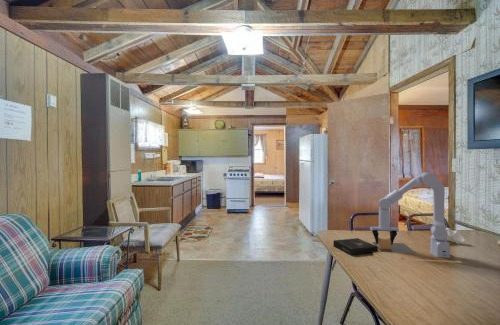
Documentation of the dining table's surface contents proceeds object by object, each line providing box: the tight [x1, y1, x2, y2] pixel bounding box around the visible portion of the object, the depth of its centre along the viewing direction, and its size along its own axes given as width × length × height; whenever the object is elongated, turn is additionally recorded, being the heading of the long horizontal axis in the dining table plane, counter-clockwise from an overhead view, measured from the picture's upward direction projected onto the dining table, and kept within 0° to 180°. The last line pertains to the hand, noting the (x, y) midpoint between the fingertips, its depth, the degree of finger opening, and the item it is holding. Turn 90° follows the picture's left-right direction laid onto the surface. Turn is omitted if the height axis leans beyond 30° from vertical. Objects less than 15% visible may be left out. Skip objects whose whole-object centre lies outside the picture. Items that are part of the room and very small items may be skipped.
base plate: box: [371, 241, 417, 254], centre depth 162 cm, size 18×18×4 cm
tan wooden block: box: [377, 236, 391, 249], centre depth 162 cm, size 6×6×5 cm
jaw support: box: [446, 227, 466, 245], centre depth 176 cm, size 12×9×10 cm
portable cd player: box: [333, 237, 379, 257], centre depth 162 cm, size 16×17×4 cm
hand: (384, 243), depth 162 cm, fingers open, 7 cm apart
